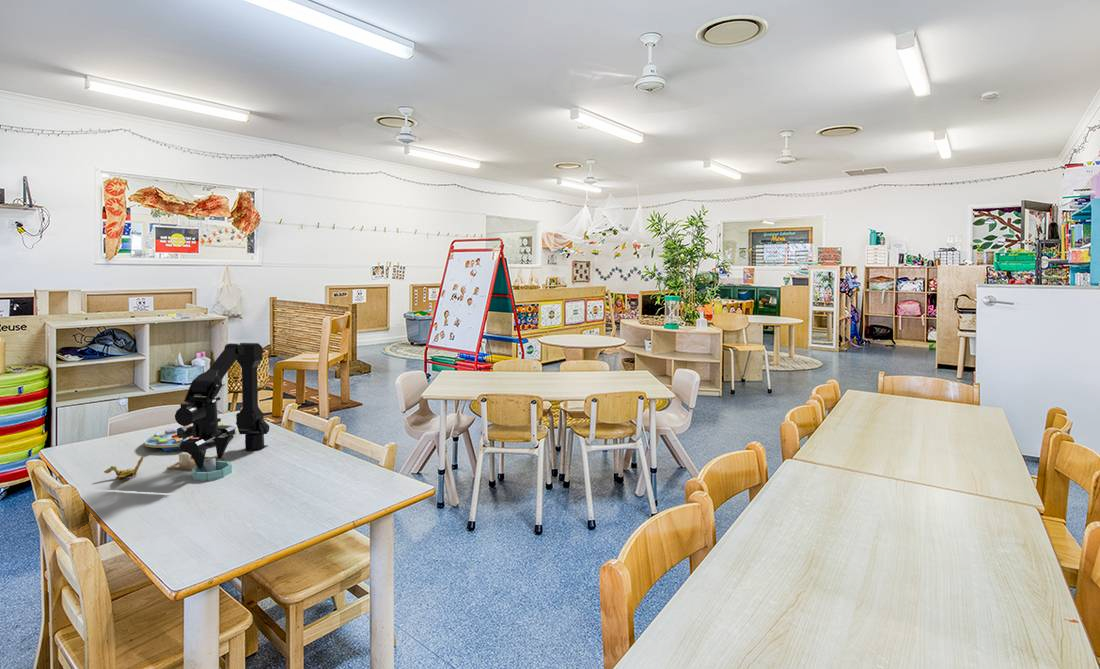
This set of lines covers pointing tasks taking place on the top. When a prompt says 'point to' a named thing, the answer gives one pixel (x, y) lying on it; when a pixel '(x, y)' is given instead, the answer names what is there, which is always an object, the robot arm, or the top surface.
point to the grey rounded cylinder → (210, 464)
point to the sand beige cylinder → (184, 460)
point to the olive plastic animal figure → (125, 472)
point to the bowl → (221, 471)
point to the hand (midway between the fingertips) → (210, 463)
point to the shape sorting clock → (172, 439)
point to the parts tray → (193, 464)
